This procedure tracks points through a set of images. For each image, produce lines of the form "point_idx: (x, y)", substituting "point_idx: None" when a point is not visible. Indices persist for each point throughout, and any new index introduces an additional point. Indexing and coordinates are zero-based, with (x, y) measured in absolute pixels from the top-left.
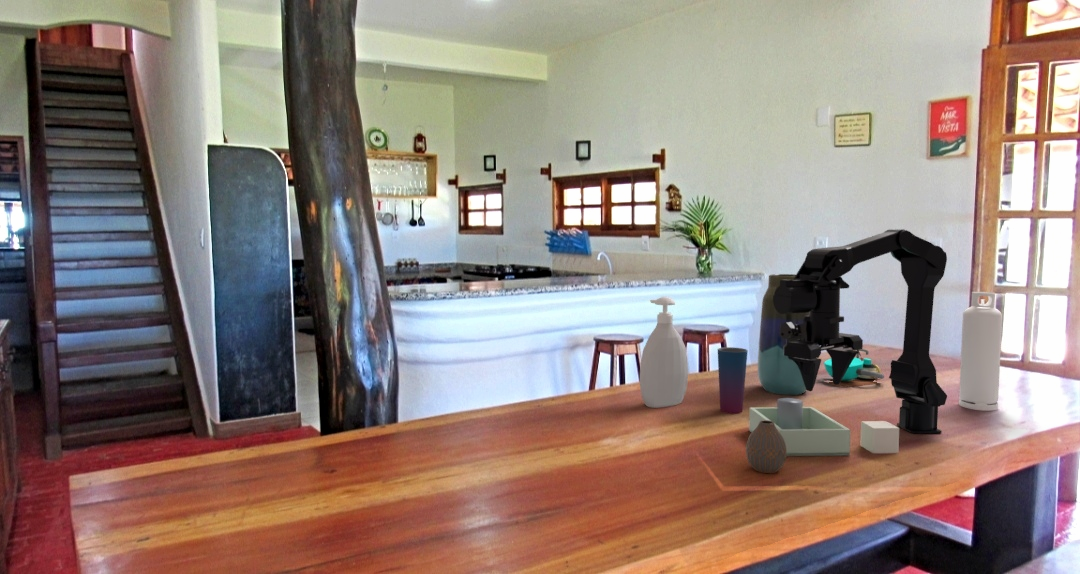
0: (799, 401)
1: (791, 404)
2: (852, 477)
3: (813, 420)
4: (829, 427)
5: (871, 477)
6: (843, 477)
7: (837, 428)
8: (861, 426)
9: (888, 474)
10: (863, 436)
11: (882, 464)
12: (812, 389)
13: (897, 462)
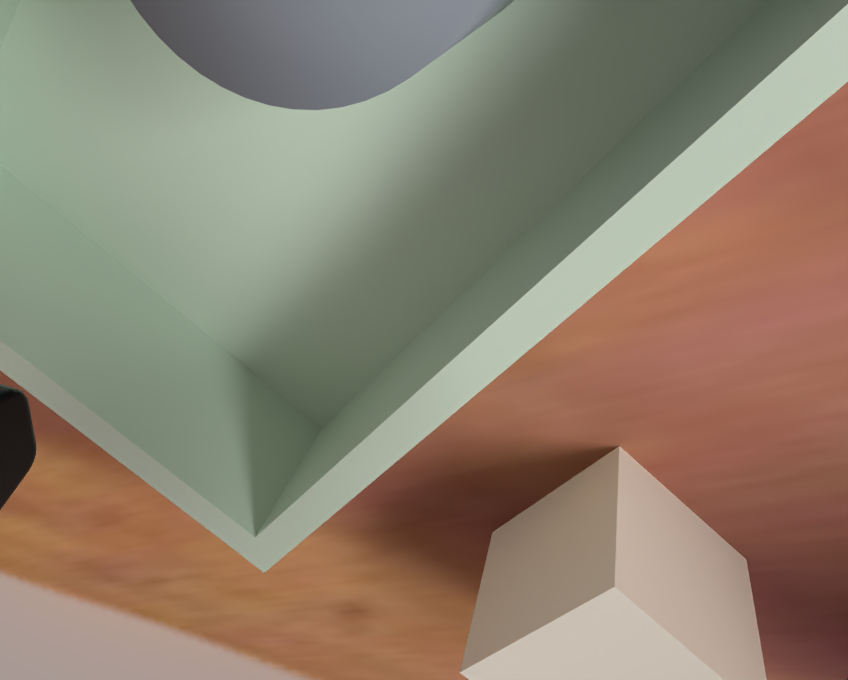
0: (368, 34)
1: (144, 14)
2: (48, 525)
3: (751, 47)
4: (441, 345)
5: (120, 581)
6: (14, 498)
7: (335, 454)
8: (610, 555)
9: (217, 625)
10: (584, 521)
11: (331, 592)
12: (9, 485)
13: (423, 639)
